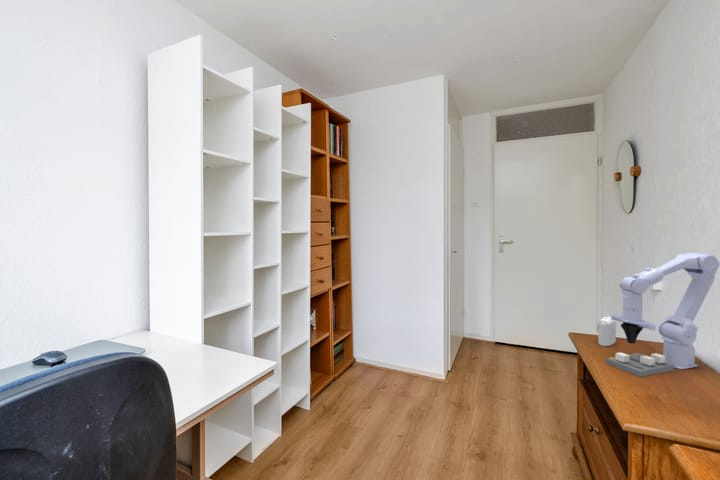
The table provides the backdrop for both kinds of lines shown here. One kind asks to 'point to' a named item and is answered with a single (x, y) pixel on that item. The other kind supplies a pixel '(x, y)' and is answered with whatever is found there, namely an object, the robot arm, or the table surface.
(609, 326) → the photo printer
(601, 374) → the table surface
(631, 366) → the switch panel
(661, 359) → the switch
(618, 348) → the table surface
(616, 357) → the switch
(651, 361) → the switch middle
